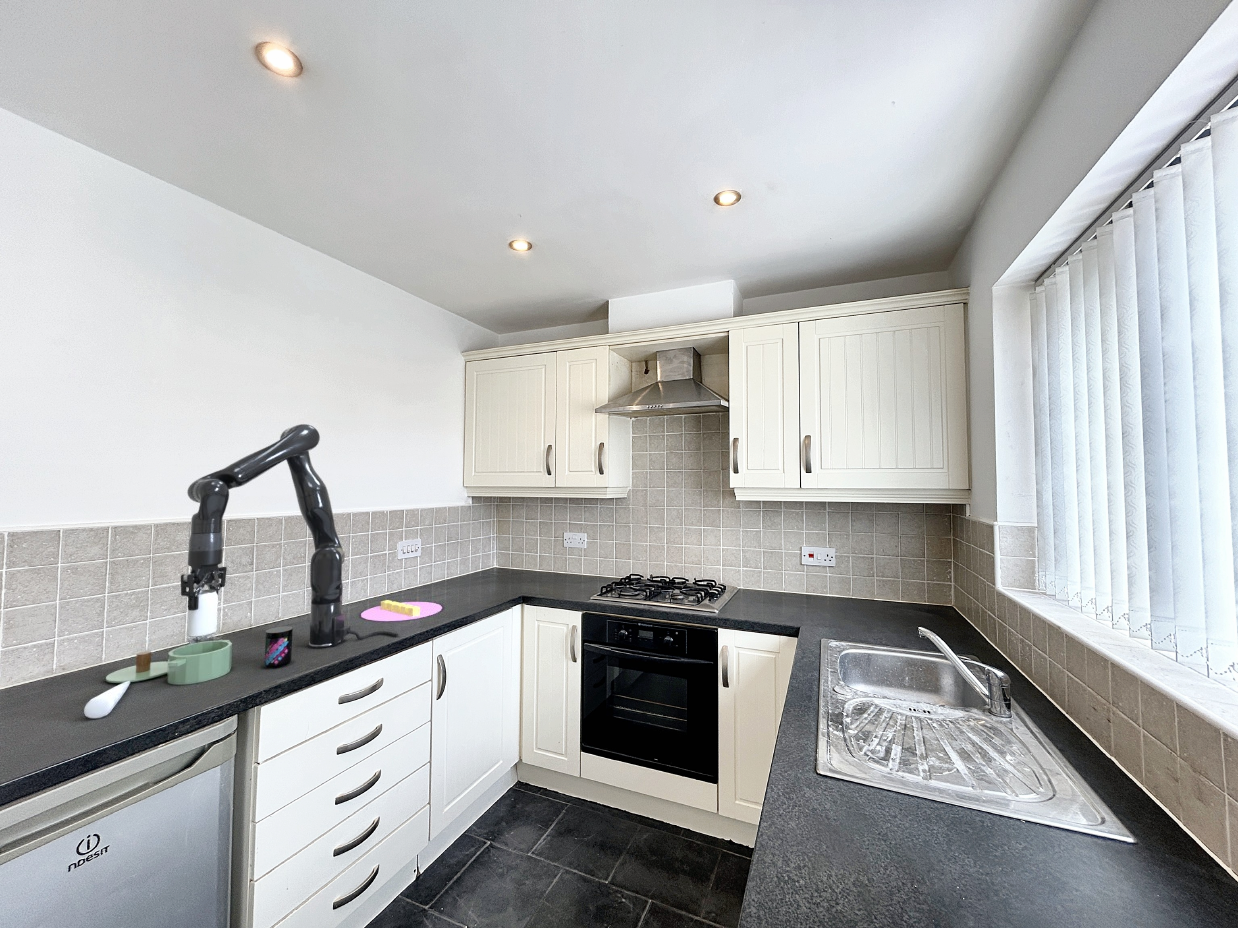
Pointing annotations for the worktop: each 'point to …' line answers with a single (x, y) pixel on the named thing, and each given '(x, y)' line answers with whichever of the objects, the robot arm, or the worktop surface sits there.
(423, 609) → the platter
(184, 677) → the pan
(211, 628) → the can
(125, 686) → the unicorn horn
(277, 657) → the supplement container
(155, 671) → the pan lid
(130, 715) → the worktop surface
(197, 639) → the egg carton
